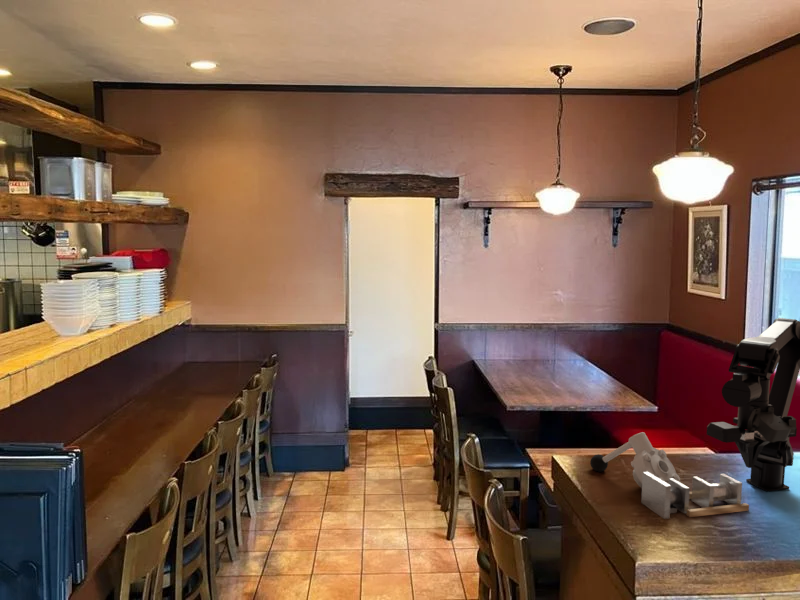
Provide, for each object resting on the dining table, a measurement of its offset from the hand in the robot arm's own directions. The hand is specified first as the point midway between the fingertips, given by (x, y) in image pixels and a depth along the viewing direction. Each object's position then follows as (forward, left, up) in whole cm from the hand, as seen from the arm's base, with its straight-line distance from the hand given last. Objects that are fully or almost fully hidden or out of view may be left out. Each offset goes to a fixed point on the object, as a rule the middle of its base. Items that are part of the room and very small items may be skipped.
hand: (749, 467), depth 143 cm
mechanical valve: (+20, -15, -8) cm, 26 cm away
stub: (+20, 0, -8) cm, 22 cm away
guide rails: (+11, 0, -8) cm, 13 cm away
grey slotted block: (+8, 0, -8) cm, 11 cm away
